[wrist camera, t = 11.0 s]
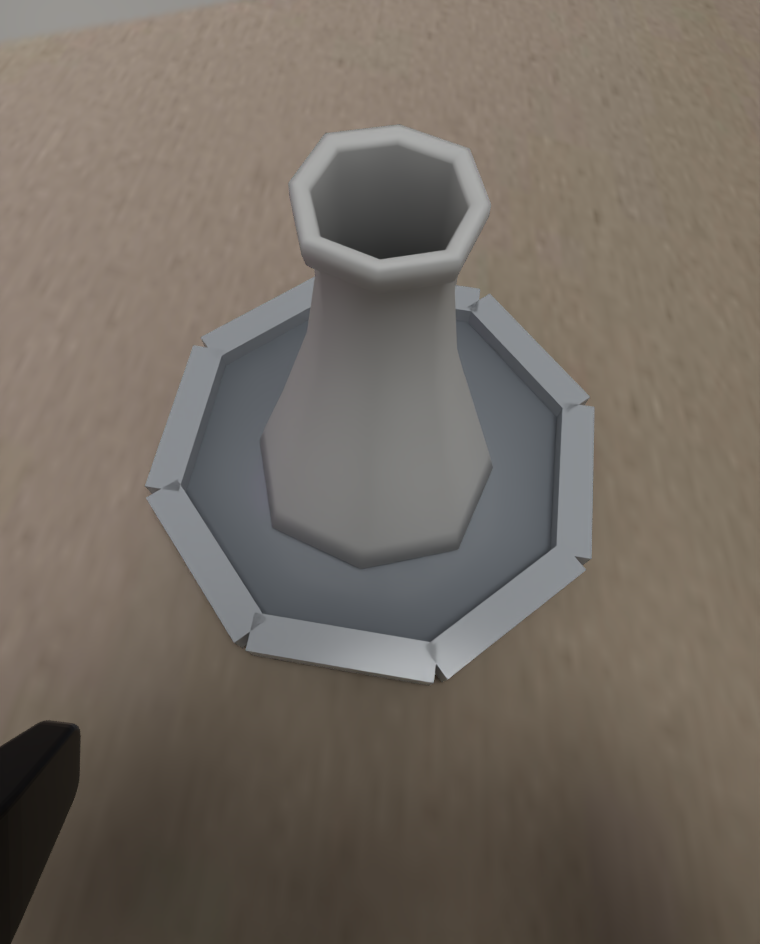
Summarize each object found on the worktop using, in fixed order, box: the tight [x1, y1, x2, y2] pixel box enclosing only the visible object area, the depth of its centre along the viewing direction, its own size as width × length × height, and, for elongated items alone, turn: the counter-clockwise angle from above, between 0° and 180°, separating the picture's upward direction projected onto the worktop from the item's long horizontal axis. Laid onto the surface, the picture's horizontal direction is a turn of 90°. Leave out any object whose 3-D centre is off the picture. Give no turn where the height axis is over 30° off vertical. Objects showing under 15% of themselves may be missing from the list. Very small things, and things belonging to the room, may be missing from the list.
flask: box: [260, 124, 493, 569], centre depth 14 cm, size 7×7×10 cm
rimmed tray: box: [145, 277, 594, 686], centre depth 18 cm, size 13×13×1 cm
